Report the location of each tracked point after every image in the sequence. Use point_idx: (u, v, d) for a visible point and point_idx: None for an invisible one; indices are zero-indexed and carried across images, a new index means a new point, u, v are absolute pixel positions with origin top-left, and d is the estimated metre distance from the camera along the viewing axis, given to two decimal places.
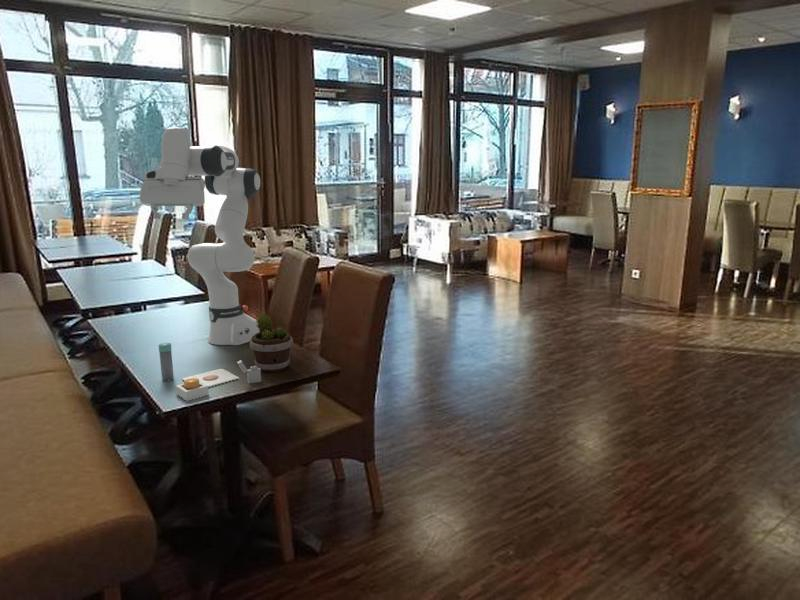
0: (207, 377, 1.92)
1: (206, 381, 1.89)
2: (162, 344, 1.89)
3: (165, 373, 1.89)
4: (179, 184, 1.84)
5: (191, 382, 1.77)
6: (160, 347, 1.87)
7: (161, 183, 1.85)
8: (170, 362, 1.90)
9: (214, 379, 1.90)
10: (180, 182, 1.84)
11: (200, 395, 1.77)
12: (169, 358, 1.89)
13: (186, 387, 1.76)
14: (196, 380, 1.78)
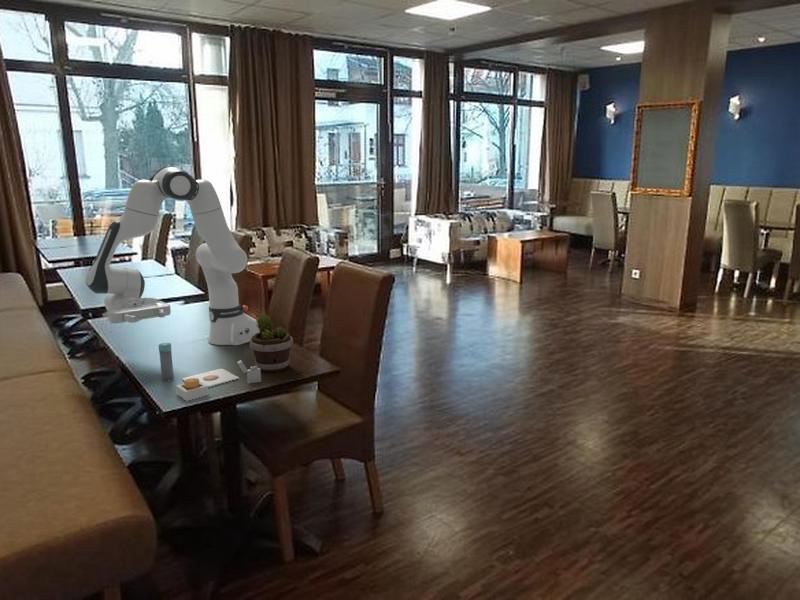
0: (207, 377, 1.92)
1: (206, 381, 1.89)
2: (162, 344, 1.89)
3: (165, 373, 1.89)
4: None
5: (191, 382, 1.77)
6: (160, 347, 1.87)
7: None
8: (170, 362, 1.90)
9: (214, 379, 1.90)
10: None
11: (200, 395, 1.77)
12: (169, 358, 1.89)
13: (186, 387, 1.76)
14: (196, 380, 1.78)
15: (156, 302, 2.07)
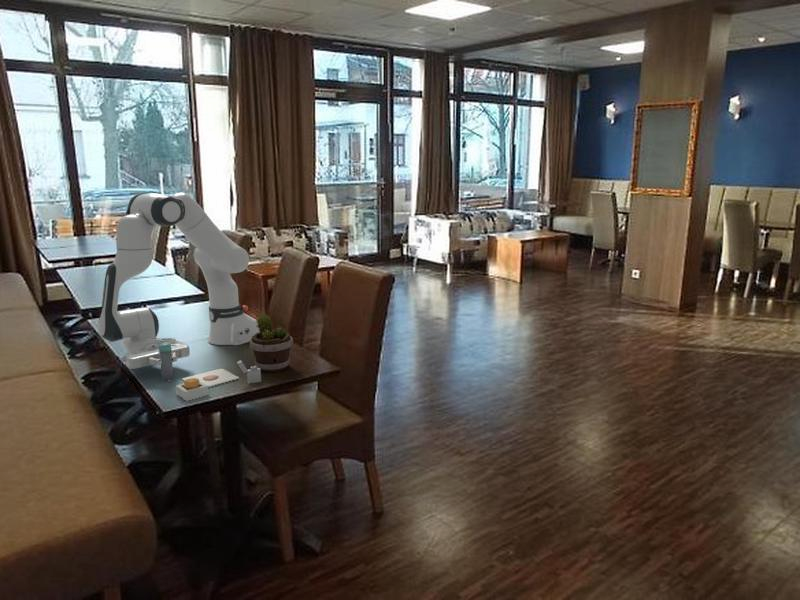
0: (207, 377, 1.92)
1: (206, 381, 1.89)
2: (162, 344, 1.89)
3: (165, 373, 1.89)
4: None
5: (191, 382, 1.77)
6: (160, 347, 1.87)
7: None
8: (170, 362, 1.90)
9: (214, 379, 1.90)
10: None
11: (200, 395, 1.77)
12: (169, 358, 1.89)
13: (186, 387, 1.76)
14: (196, 380, 1.78)
15: (175, 343, 2.01)
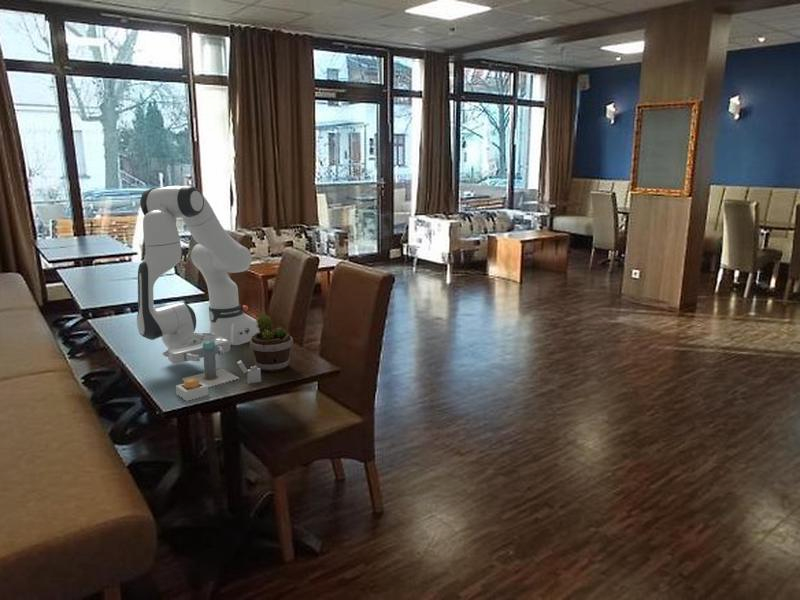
0: None
1: (206, 381, 1.89)
2: (206, 342, 1.89)
3: (208, 371, 1.89)
4: None
5: (191, 382, 1.77)
6: (204, 345, 1.87)
7: None
8: (214, 360, 1.89)
9: (214, 379, 1.90)
10: None
11: (200, 395, 1.77)
12: (212, 356, 1.89)
13: (186, 387, 1.76)
14: (196, 380, 1.78)
15: (215, 337, 2.01)
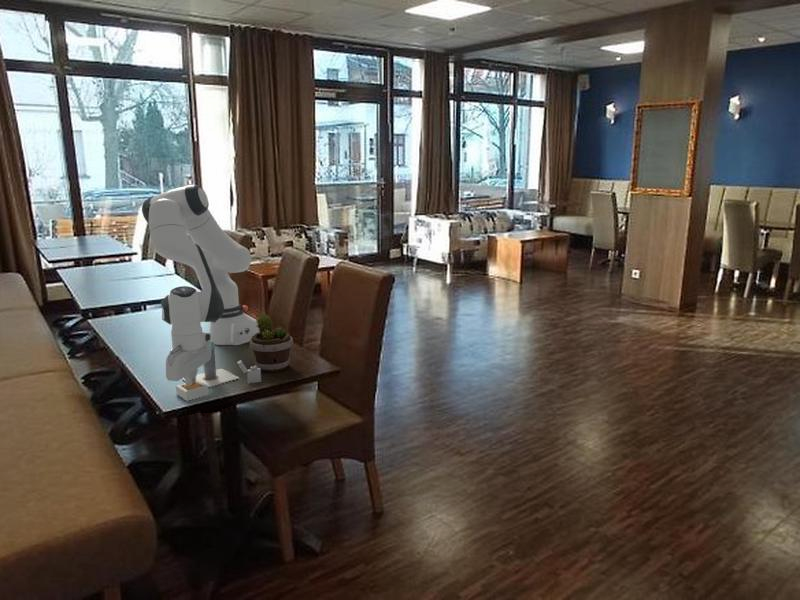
0: None
1: (206, 381, 1.89)
2: None
3: (208, 371, 1.89)
4: None
5: (192, 385, 1.77)
6: None
7: None
8: (213, 360, 1.89)
9: (214, 379, 1.90)
10: None
11: (200, 395, 1.77)
12: (212, 357, 1.88)
13: None
14: (196, 384, 1.79)
15: (207, 344, 1.82)
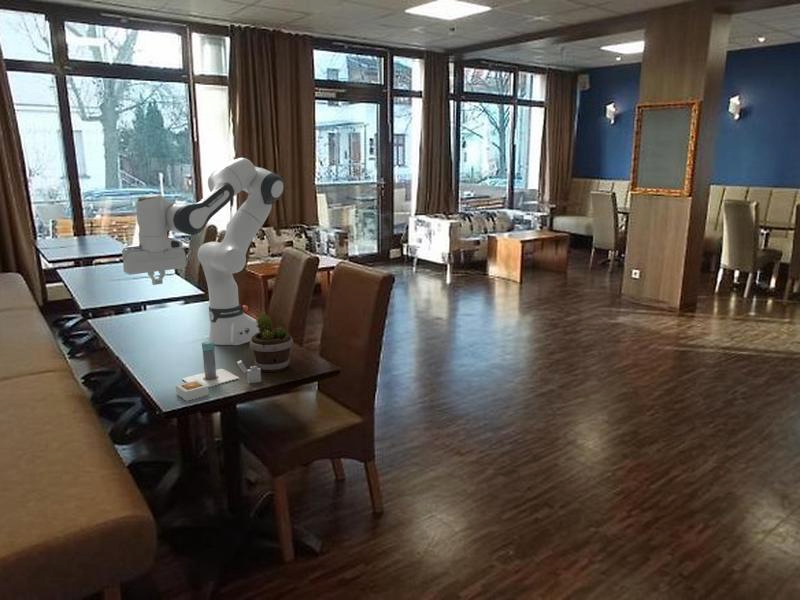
0: None
1: (206, 381, 1.89)
2: (205, 342, 1.89)
3: (208, 371, 1.89)
4: None
5: (192, 386, 1.77)
6: (204, 345, 1.87)
7: None
8: (213, 360, 1.89)
9: (214, 379, 1.90)
10: None
11: (200, 395, 1.77)
12: (212, 357, 1.89)
13: None
14: (196, 384, 1.79)
15: (178, 252, 1.99)
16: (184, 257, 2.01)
